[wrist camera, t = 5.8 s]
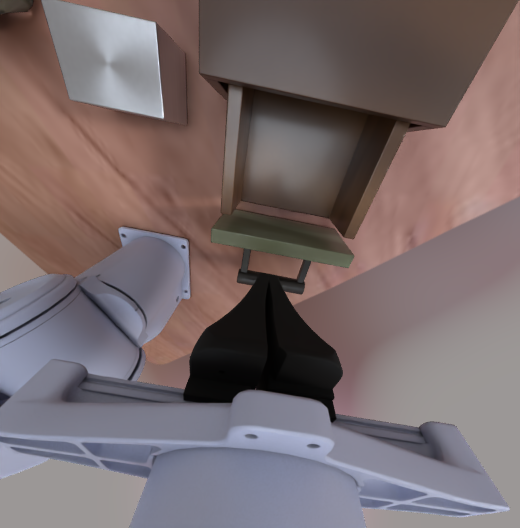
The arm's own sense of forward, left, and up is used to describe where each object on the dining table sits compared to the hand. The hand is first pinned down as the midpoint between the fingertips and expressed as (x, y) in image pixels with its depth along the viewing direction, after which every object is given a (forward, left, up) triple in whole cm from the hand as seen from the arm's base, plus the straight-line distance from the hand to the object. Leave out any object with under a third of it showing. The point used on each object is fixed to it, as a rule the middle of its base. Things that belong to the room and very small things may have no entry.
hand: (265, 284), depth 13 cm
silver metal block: (+11, +12, -9) cm, 19 cm away
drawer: (+6, -1, -8) cm, 10 cm away
